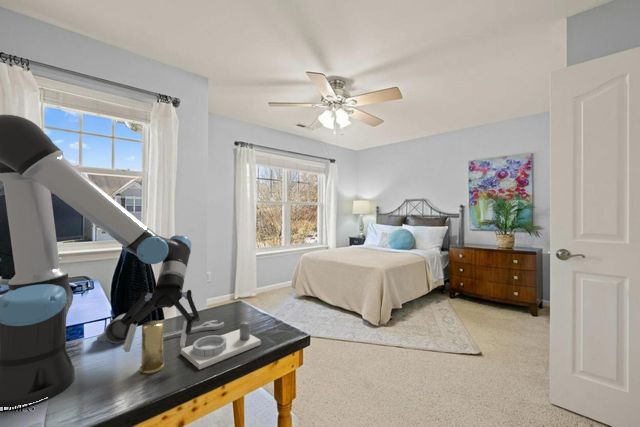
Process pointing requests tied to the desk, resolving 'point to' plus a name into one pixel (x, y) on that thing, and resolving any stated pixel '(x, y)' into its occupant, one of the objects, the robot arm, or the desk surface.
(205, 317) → the desk surface
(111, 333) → the ceramic mug
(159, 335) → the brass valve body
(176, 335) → the adjustable wrench
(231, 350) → the board
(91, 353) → the desk surface
